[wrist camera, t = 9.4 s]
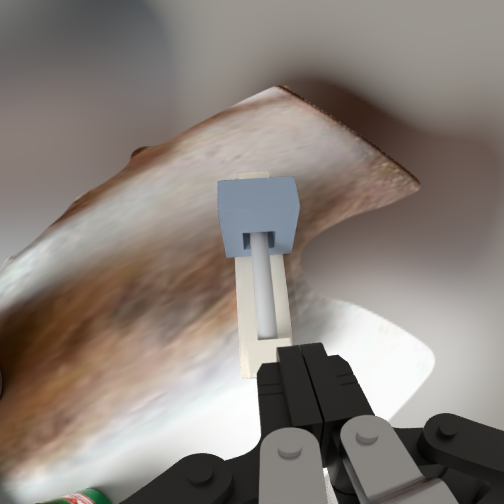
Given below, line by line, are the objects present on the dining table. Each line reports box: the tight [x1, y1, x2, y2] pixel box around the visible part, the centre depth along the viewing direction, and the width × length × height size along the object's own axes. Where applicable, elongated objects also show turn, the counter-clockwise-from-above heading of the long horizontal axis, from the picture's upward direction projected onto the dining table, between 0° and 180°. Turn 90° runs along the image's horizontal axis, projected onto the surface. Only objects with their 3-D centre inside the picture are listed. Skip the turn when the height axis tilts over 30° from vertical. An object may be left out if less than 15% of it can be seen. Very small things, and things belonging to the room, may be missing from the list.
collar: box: [218, 177, 300, 258], centre depth 34 cm, size 4×8×10 cm, turn 94°
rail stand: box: [235, 171, 293, 379], centre depth 34 cm, size 24×6×6 cm, turn 4°
